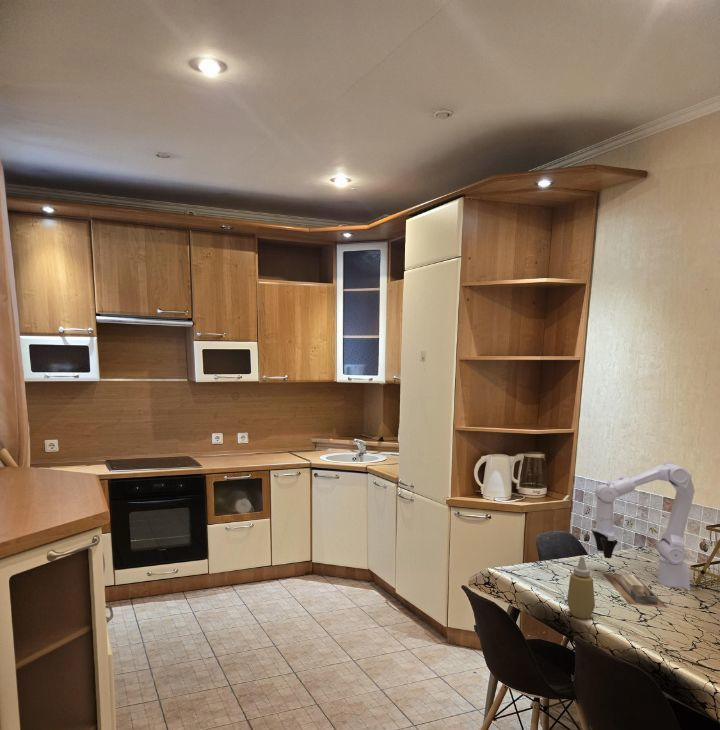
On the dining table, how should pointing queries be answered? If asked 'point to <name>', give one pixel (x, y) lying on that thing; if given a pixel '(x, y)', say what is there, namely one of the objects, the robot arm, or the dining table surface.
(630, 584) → the cream rectangular block
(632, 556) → the dining table surface
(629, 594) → the board
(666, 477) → the robot arm
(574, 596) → the squeeze bottle
